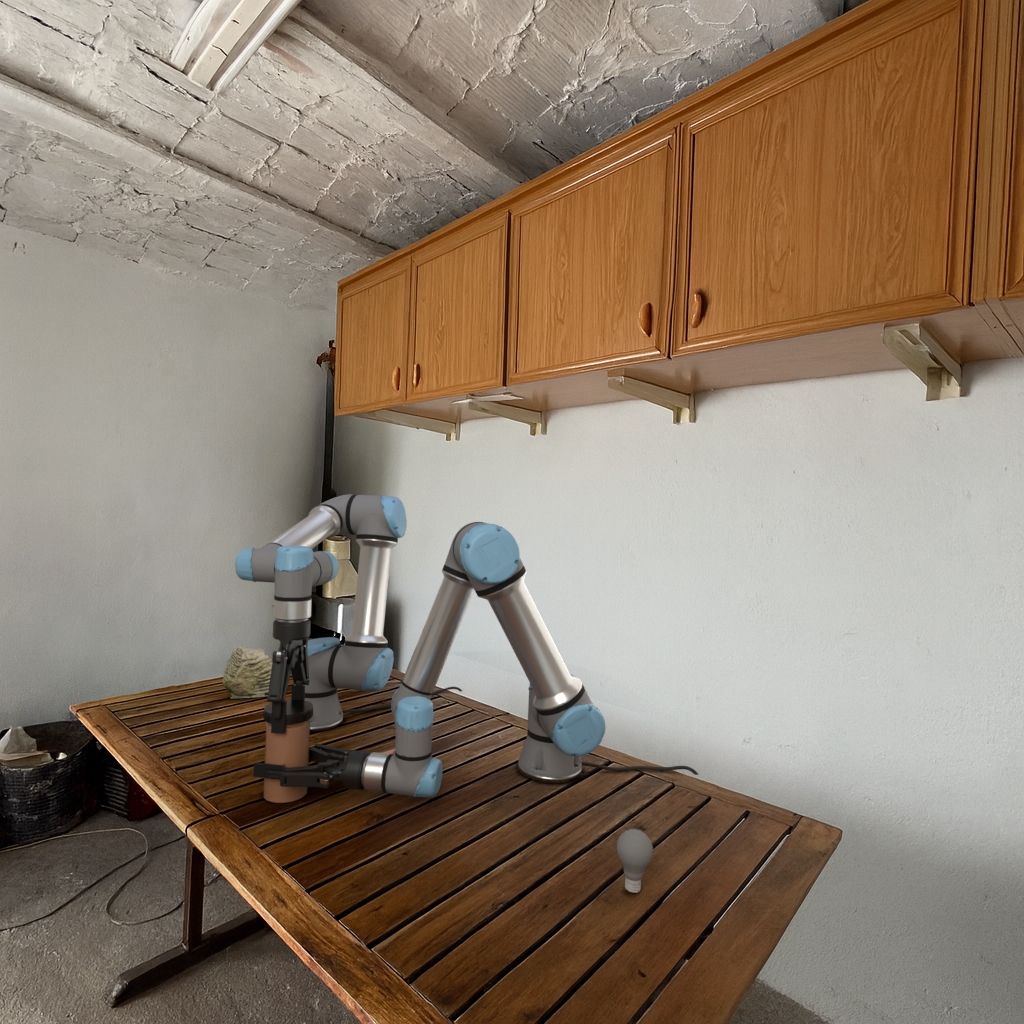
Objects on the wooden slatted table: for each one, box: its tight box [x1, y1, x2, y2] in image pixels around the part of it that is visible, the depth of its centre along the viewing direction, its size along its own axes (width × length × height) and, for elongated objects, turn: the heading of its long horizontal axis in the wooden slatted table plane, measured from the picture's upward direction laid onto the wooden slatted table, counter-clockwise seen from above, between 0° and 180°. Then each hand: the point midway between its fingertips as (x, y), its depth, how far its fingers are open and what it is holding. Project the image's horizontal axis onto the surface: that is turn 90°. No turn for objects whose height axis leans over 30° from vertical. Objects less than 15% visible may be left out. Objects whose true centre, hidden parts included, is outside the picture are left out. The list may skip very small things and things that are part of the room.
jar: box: [262, 719, 311, 804], centre depth 135 cm, size 9×9×17 cm
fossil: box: [222, 646, 272, 699], centre depth 198 cm, size 9×18×15 cm, turn 132°
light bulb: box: [615, 828, 654, 894], centre depth 106 cm, size 6×6×10 cm
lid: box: [262, 699, 313, 725], centre depth 134 cm, size 10×10×2 cm
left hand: (288, 723), depth 134 cm, fingers closed on lid, 10 cm apart
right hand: (266, 760), depth 135 cm, fingers closed on jar, 9 cm apart
